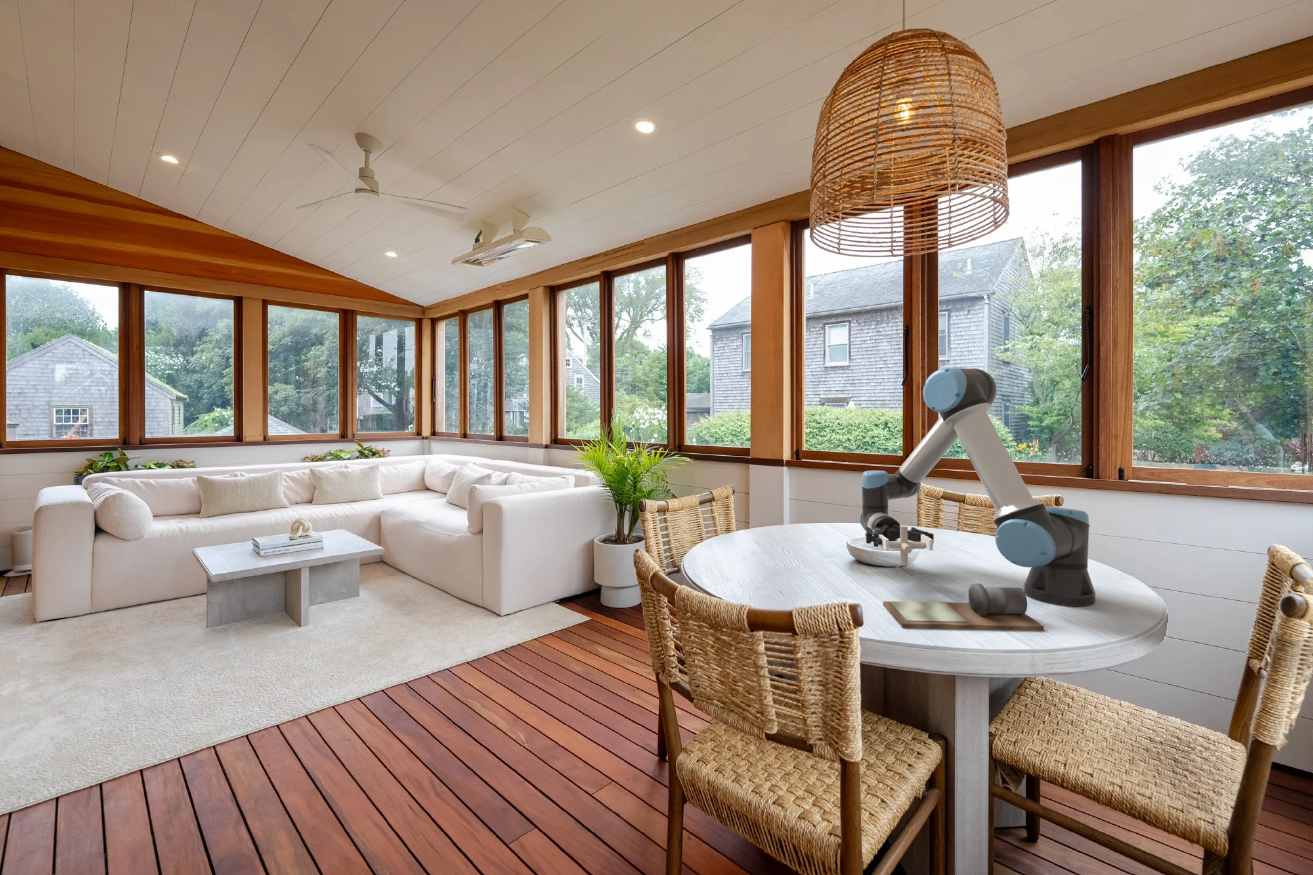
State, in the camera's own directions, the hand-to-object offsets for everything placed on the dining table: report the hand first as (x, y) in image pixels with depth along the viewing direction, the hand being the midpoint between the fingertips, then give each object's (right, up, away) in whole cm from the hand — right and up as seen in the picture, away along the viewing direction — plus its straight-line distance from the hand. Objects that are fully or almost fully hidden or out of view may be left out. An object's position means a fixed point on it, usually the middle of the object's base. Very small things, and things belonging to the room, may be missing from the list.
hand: (909, 545), depth 151 cm
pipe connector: (+1, -6, +5) cm, 8 cm away
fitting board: (+6, -15, -12) cm, 20 cm away
